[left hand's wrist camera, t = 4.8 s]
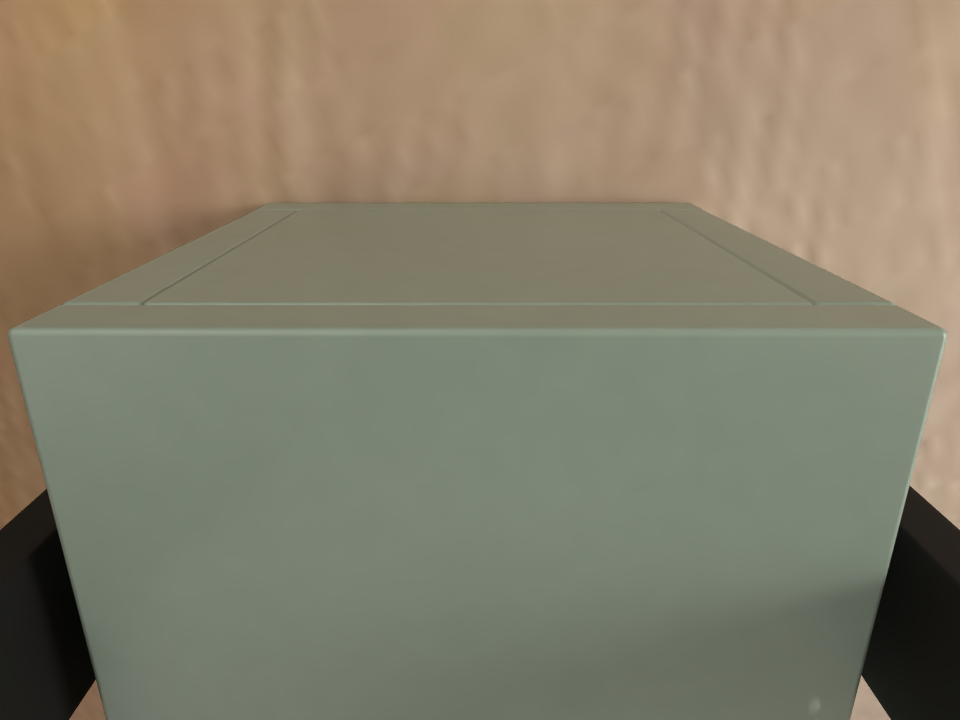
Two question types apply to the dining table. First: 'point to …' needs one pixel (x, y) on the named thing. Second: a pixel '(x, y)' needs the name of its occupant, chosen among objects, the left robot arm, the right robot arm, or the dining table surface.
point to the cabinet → (477, 466)
